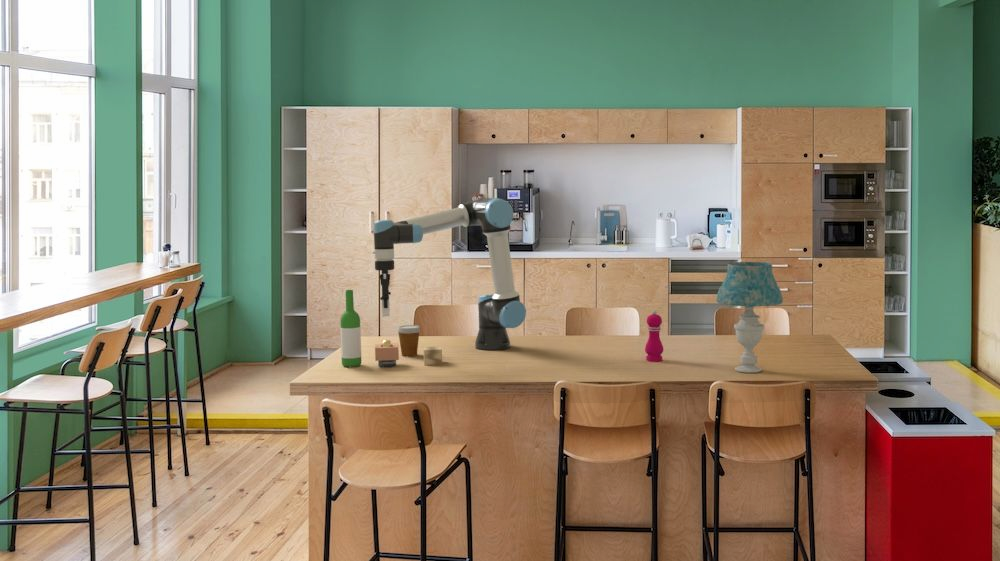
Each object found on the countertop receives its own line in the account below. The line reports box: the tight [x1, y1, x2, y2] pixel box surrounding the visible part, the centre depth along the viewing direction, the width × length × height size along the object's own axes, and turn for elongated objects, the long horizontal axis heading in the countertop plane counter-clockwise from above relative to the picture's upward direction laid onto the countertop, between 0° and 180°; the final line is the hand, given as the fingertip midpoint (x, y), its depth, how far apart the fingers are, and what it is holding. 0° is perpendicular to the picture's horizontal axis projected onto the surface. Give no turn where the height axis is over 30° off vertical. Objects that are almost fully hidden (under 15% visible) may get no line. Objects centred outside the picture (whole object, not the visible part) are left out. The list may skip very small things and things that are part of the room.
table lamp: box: [716, 261, 784, 374], centre depth 366 cm, size 24×24×40 cm
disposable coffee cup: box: [396, 324, 421, 357], centre depth 410 cm, size 10×10×12 cm
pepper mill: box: [644, 310, 664, 363], centre depth 390 cm, size 7×7×20 cm
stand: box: [423, 346, 443, 366], centre depth 392 cm, size 7×7×6 cm
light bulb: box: [377, 339, 397, 369], centre depth 388 cm, size 7×7×10 cm
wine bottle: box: [339, 289, 362, 368], centre depth 389 cm, size 8×8×30 cm
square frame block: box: [374, 342, 400, 362], centre depth 388 cm, size 9×9×5 cm
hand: (386, 313), depth 387 cm, fingers open, 13 cm apart
